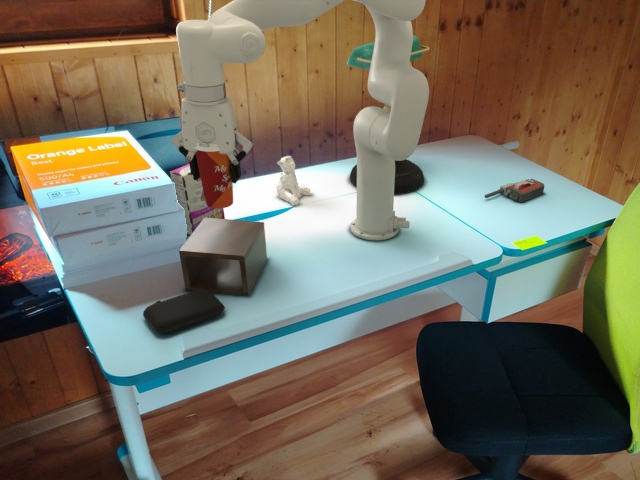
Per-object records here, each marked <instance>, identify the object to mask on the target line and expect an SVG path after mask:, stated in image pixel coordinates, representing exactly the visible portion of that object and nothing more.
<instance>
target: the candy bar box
mask: <svg viewBox="0 0 640 480" xmlns="http://www.w3.org/2000/svg"><path fill="white" fill-rule="evenodd" d="M169 175H170V180H171V182H172V181H173V182H174V183H175V186H176V195H177V200H178V203H179V204H180V205H181V206H182V207H183V208H184V210H185V218H186V224H187V231H188V232H187V234H186V235H188V236H191V234H192V233H193V232H194V230H195V229H196V228H197V227H198V225H199V224H200V223H201V221H202V220H203V219H204V218H216V219H226V218H225V216H226V215H225V211H224V209H225V208H220V209H217V208H211V207H208V206H207V204H206V201H205V196H204V192H203V187H202V182H201V177H200V178H199V179H198V180H194V179H193V174H191V171H190V164H189V163H187V164H186V165H183V166H181V167H178V168H176V169H173V170H171V171H169Z"/></svg>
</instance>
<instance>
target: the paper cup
mask: <svg viewBox="0 0 640 480" xmlns="http://www.w3.org/2000/svg"><path fill="white" fill-rule="evenodd" d="M194 149H196V150H197V152H195V153H196V158H197V163H198V168H199V173H200V177H201V182H202V187H203V192H204V196H205V201H206V204H207V206H208V207H211V208H217V209H220V208H223V209H225V208H229V207H231V206H233V204H234V186H233V185H234V183H233V182H232V179H231V170H230V165H231V164H232V162H231V160H230V159H229V157H228V156H227V154H220V153H219V151H221V149H219V147H218V145H217V144H213V143H211V144H210V143H200V142H197V145H196V147H195V148H194Z"/></svg>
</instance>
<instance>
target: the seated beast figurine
mask: <svg viewBox="0 0 640 480" xmlns="http://www.w3.org/2000/svg"><path fill="white" fill-rule="evenodd" d="M276 164H277V165H278V166H279V168H280V169H281V171H282V172H281V174H280V175H279V181H278V183H277V184H276V186H275V189H276V193H277V195H278V197H279V198H280V199H282V200H283V201H285V202H287V203H288V204H290V205H292V206H297V205H299V203H300V200H299V199H300V198H302V197H303V196H307V197H308V196H311V188H310V187H306V185H299V183H298V178H297V175H296V172H295V171H296V163H295V160H294V158H292V156H291V155H286V156H283V157H281V158H280V160H277V161H276Z"/></svg>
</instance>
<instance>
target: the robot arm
mask: <svg viewBox="0 0 640 480" xmlns="http://www.w3.org/2000/svg"><path fill="white" fill-rule="evenodd" d="M345 1H346V0H231V1H229V2H228V3H226V4H225V5H223V6H221V7H220V8H219V9H217V10H215V11H214V12H213V13H212V14H211V15H210V16H209V17H208V19H207V20H206V19H188V20H183V21H180V22H179V23H178V24H177V26H176V30H175V32H176V40H177V41H176V42H177V46H178V53H179V60H180V61H179V62H180V67H181V74H182V80H183V81H182V83H177V88H176V89H177V91H178V92H182V93H183V95H184V97H182V99H181V107H180V114H181V115H180V116H181V117H180V119H181V122H180V123H181V131H179V132H178V133H177V134H176V135H174V136H173V137H172V138H171V139H170V141H171V143H172V144H173V145H174V146H175V147H176V149H178V152H179V153H180V154H181V155H183V156H184V157H185V159H186V161H187V162H188V164H190V171H191V174H193V179H194V180H198V179H199V178H200V173H199V168H198V163H197V158H196V153H195V152H197V150H196V149H194V148H195V147H196V145H197V142H200V143H210V144H211V143H213V144H217V145H218V147H219V149H221V151H219V153H220V154H227V156H228V157H229V159H230V160H231V165H230V170H231V179H232V184H237V182H238V181H239V180H240V179H241V177H242V167H241V161H242V160H243V159H244V158H245V157H246V156H247V154H248V153H249V152H250V150H251V149H252V148H253V146H254V144H253V142H252V141H250V140H249V139H248V138H247V137H245V136H244V135H243V134H242V133H240V132H239V131H238V126H237V121H236V120H237V119H236V116H235V111H234V108H233V105H232V101H231V99H230V97H227V89H226V81H225V72H224V63H226V64H251V63H253V62H256V61H258V60H259V59H260V58H262V56H263V55H264V53H265V51H266V45H267V41H266V37H265V34H264V31H267V30H269V29H274V28H283V27H284V28H285V27H286V28H287V27H299V26H303V25H307V24H310V23H311V22H313V21H315V20H316V19H317V18H319V17H320V16H322V15H324V14H325V13H327V12H328V11H330V10H332V9H333V8H334V7H336V6H338V5H340V4H341V3H343V2H345ZM351 1H352V2H356V3H359V4H362V5H364V6H365V8H366V9H367V10H368V13H369V14H370V16H371V18H372V21H373V23H374V30H375V31H374V32H375V36H374V42H375V44H374V50H373V56H372V61H371V66H370V70H369V73H368V78H367V91H368V94H369V95H370V96H371V98H372V99H374V100H376V101H377V102H379V103H381V104H383V105H388V106H390V107H391V112H390V111H387V110H385V109H384V107H383V108H382V107H379V106H373V105H371V106H366V107H363V108H362V109H360V110H359V112H358V113H357V114H356V116H355V118H354V120H353V125H352V126H353V127H352V133H353V140H354V141H353V142H354V145H355V152H356V153H355V155H356V164H357V187H356V218H355V219H354V220H353V221H351V223H350V232H351V234H353V235H354V236H356V237H357V238H360V239H363V240H366V241H367V240H368V241H384V240H388V239H391V238H393V237H395V236H396V235H397V234H398V233H399V228H400V229H408V230H409V229H410V225H411V221H410V220H407V218H406V217H399V216H397V215H396V210H394V201H395V195H394V182H395V160H396V161H402V160H405V159H407V160H408V159H409V158H410V157H411V156H412V155H413V154H414V153H415V151H416V149H417V148H418V147H417V146H418V144H419V141H420V137H421V133H422V129H423V125H424V121H425V116H426V113H427V107H428V103H429V97H430V86H429V81H428V79H427V77H426V75H425V74H424V73H423V72H422V71H421V70H419V69H417V68H415V67H413V66H412V67H410V66H409V63H411V61H410V56H411V50H412V44H413V35H414V30H413V25H412V21H414V20H416V19H417V18H418V17H419V16H420V15H421V14H422V13H423V11H424V8H425V6H426V1H427V0H351ZM239 144H240V145H241V146H242V149H241V150H240V151H239V150H238V149H237V147H238V146H239Z"/></svg>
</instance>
